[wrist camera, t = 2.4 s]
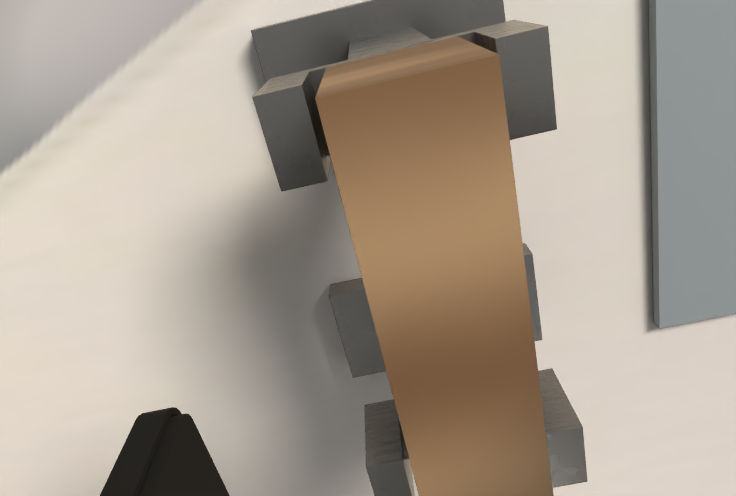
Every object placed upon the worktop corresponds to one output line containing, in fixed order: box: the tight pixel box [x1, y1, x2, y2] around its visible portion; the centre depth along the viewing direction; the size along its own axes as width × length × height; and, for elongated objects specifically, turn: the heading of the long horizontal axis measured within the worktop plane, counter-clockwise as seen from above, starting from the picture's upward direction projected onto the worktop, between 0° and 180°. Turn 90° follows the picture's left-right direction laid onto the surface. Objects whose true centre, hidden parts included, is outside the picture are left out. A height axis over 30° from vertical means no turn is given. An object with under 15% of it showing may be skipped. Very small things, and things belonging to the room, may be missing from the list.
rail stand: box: [251, 0, 587, 496], centre depth 17 cm, size 14×8×9 cm, turn 13°
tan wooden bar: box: [315, 36, 553, 496], centre depth 13 cm, size 12×3×4 cm, turn 13°
